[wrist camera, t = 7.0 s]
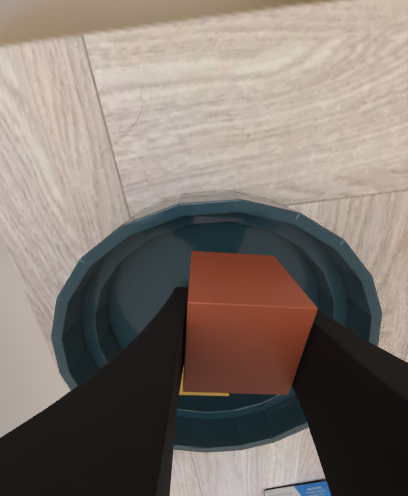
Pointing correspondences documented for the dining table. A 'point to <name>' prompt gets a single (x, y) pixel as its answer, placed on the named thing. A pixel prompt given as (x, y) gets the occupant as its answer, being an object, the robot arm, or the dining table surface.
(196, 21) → the dining table surface
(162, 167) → the dining table surface
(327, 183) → the dining table surface
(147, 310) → the bowl
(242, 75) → the dining table surface
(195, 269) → the terracotta block
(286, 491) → the ink box
